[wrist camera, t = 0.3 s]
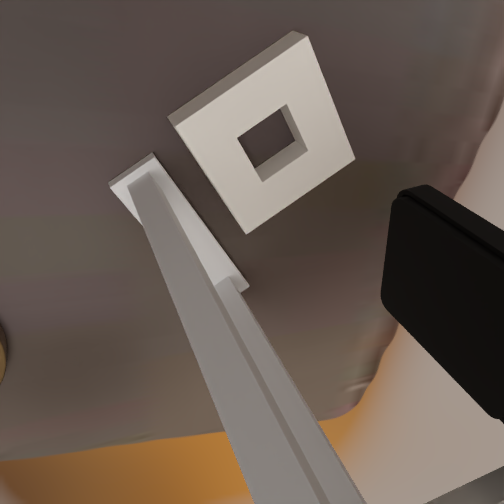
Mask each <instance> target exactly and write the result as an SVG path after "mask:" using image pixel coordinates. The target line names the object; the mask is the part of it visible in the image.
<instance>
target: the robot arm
mask: <svg viewBox="0 0 504 504" xmlns="http://www.w3.org/2000/svg"><path fill="white" fill-rule="evenodd" d="M381 300H382V303H383V305H384V307H385V308H386V309H387V310H388V312H389V313H390V314H391V315H392V316H393V317H394V318H395V319H396V320H397V321H398V322H399V323H400V324H401V325H402V326H403V327H404V328H405V329H406V330H407V331H408V332H409V333H410V334H411V335H412V336H413V337H414V338H415V339H416V340H417V341H418V343H419V344H420V345H421V346H422V347H423V348H425V350H426V351H427V352H428V353H429V354H430V355H431V356H432V357H433V358H434V359H435V360H436V361H437V362H438V363H439V364H440V365H441V366H442V367H443V368H444V369H445V370H446V371H447V372H448V373H449V375H450V376H451V377H452V378H454V380H455V381H456V382H457V383H458V384H459V385H460V386H461V387H462V388H463V389H464V390H465V391H466V392H467V393H468V394H469V395H470V396H471V397H472V398H473V399H474V400H475V401H476V402H477V403H478V404H479V405H480V407H482V409H483V410H484V411H485V412H486V413H487V414H488V415H490V416H491V417H493V418H495V419H500V420H501V421H502V422H503V424H504V231H503V230H501V229H500V228H498V227H496V226H495V225H493V224H491V223H490V222H488V221H487V220H485V219H483V218H482V217H480V216H479V215H477V214H475V213H474V212H472V211H470V210H469V209H467V208H466V207H464V206H462V205H461V204H459V203H457V202H456V201H454V200H453V199H451V198H449V197H448V196H446V195H444V194H443V193H441V192H440V191H438V190H436V189H435V188H433V187H431V186H429V185H420V186H417V187H413V188H409V189H405V190H402V191H401V192H399V194H398V195H397V199H395V200H394V201H393V203H392V206H391V214H390V222H389V230H388V238H387V246H386V254H385V262H384V270H383V278H382V286H381ZM425 504H504V466H503V467H501V468H499V469H497V470H495V471H493V472H490V473H488V474H486V475H484V476H482V477H480V478H478V479H475V480H473V481H471V482H469V483H467V484H465V485H463V486H461V487H459V488H456V489H454V490H452V491H450V492H448V493H446V494H444V495H442V496H440V497H438V498H436V499H433V500H431V501H429V502H427V503H425Z"/></svg>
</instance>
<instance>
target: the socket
mask: <svg viewBox="0 0 504 504" xmlns="http://www.w3.org/2000/svg"><path fill="white" fill-rule="evenodd" d="M278 109H280V110H281V112H282V114H283V116H284V118H285V120H286V122H287V124H288V127H289V129H290V131H291V133H292V135H293V137H294V139H295V141H294V142H293V143H291V144H290V145H288V146H287V147H285V148H284V149H282V150H281V151H280V152H278V153H277V154H275V155H274V156H272V157H271V158H269V159H268V160H267V161H265V162H264V163H262V164H261V165H259V166H258V167H256V168H255V169H254V167H253V165H252V164H251V162H250V160H249V159H248V157H247V155H246V153H245V152H244V150H243V148H242V146H241V145H240V143H239V141H238V139H237V137H239V136H240V135H242V134H243V133H245V132H246V131H248V130H249V129H251V128H252V127H253V126H255V125H256V124H258V123H259V122H261V121H262V120H264V119H265V118H267V117H268V116H269V115H271V114H272V113H274V112H275V111H277V110H278ZM167 118H168V119H169V121H170V122H171V124H172V125H173V127H174V128H175V130H176V131H177V133H178V134H179V136H180V137H181V139H182V140H183V142H184V143H185V145H186V146H187V148H188V149H189V151H190V152H191V154H192V155H193V157H194V158H195V160H196V161H197V163H198V164H199V166H200V167H201V169H202V170H203V172H204V173H205V175H206V176H207V178H208V179H209V181H210V182H211V184H212V185H213V187H214V188H215V190H216V191H217V193H218V194H219V196H220V197H221V199H222V200H223V202H224V203H225V205H226V206H227V208H228V209H229V211H230V212H231V214H232V215H233V217H234V218H235V220H236V221H237V223H238V224H239V225H240V227H241V228H242V229H243V231H244V232H245V234H248V233H249V232H251V231H252V230H254V229H255V228H256V227H258V226H259V225H261V224H262V223H264V222H265V221H267V220H268V219H269V218H271V217H272V216H274V215H275V214H277V213H278V212H280V211H281V210H282V209H284V208H285V207H287V206H288V205H290V204H291V203H293V202H294V201H295V200H297V199H298V198H300V197H301V196H303V195H304V194H306V193H307V192H308V191H310V190H311V189H313V188H314V187H316V186H317V185H319V184H320V183H322V182H323V181H324V180H326V179H327V178H329V177H330V176H332V175H333V174H335V173H336V172H337V171H339V170H340V169H342V168H343V167H345V166H346V165H348V164H349V163H350V162H352V161H353V160H355V157H354V154H353V152H352V149H351V146H350V144H349V141H348V139H347V136H346V134H345V131H344V128H343V126H342V123H341V121H340V118H339V116H338V113H337V110H336V108H335V105H334V103H333V100H332V97H331V95H330V92H329V90H328V87H327V85H326V82H325V79H324V77H323V74H322V72H321V69H320V67H319V64H318V61H317V59H316V56H315V54H314V51H313V49H312V46H311V43H310V41H309V38H308V36H307V35H304V34H301V33H298V32H295V31H291V32H290V33H288V34H287V35H285V36H284V37H282V38H281V39H279V40H278V41H277V42H275V43H274V44H272V45H271V46H269V47H268V48H266V49H265V50H263V51H262V52H260V53H259V54H258V55H256V56H255V57H253V58H252V59H250V60H249V61H247V62H246V63H244V64H243V65H242V66H240V67H239V68H237V69H236V70H234V71H233V72H231V73H230V74H228V75H227V76H225V77H224V78H223V79H221V80H220V81H218V82H217V83H215V84H214V85H212V86H211V87H209V88H208V89H207V90H205V91H204V92H202V93H201V94H199V95H198V96H196V97H195V98H193V99H192V100H190V101H189V102H188V103H186V104H185V105H183V106H182V107H180V108H179V109H177V110H176V111H174V112H173V113H172V114H170V115H169V116H167Z"/></svg>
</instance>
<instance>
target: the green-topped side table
mask: <svg viewBox="0 0 504 504" xmlns="http://www.w3.org/2000/svg"><path fill="white" fill-rule="evenodd" d="M108 183H109V186H110V188H111V190H112V191H113V192H114V193H115V194H116V195H117V197H118V198H119V199H120V200H121V201H122V202H123V204H124V205H125V206H126V207H127V208H128V209H129V211H130V212H131V213H132V214H133V215H134V216H135V218H136V219H137V220H138V221H139V222H140V223H141V225H142V226H143V227H144V230H145V232H146V235H147V237H148V240H149V242H150V245H151V247H152V250H153V252H154V255H155V257H156V260H157V262H158V265H159V267H160V270H161V272H162V275H163V277H164V280H165V282H166V285H167V287H168V290H169V292H170V295H171V297H172V300H173V302H174V305H175V307H176V310H177V312H178V314H179V317H180V319H181V322H182V324H183V327H184V329H185V332H186V334H187V337H188V339H189V342H190V344H191V347H192V349H193V352H194V354H195V357H196V359H197V362H198V364H199V367H200V369H201V372H202V374H203V377H204V379H205V382H206V384H207V387H208V389H209V392H210V394H211V397H212V399H213V401H214V404H215V406H216V409H217V411H218V414H219V416H220V419H221V421H222V424H223V426H224V429H225V431H226V433H227V436H228V439H229V441H230V444H231V446H232V449H233V451H234V454H235V456H236V459H237V461H238V464H239V466H240V469H241V471H242V473H243V476H244V478H245V481H246V483H247V486H248V488H249V491H250V493H251V496H252V498H253V501H254V503H255V504H366V502H365V500H364V498H363V497H362V495H361V494H360V492H359V490H358V488H357V487H356V485H355V483H354V482H353V480H352V478H351V477H350V475H349V473H348V472H347V470H346V468H345V467H344V465H343V463H342V462H341V460H340V458H339V457H338V455H337V453H336V452H335V450H334V448H333V447H332V445H331V444H330V442H329V440H328V438H327V437H326V435H325V433H324V432H323V430H322V428H321V427H320V425H319V423H318V422H317V420H316V418H315V417H314V415H313V413H312V412H311V410H310V408H309V407H308V405H307V403H306V402H305V400H304V398H303V397H302V395H301V393H300V392H299V390H298V388H297V387H296V385H295V383H294V382H293V380H292V378H291V377H290V375H289V373H288V372H287V370H286V368H285V367H284V365H283V363H282V362H281V360H280V358H279V357H278V355H277V353H276V352H275V350H274V348H273V347H272V345H271V343H270V342H269V340H268V338H267V337H266V335H265V333H264V332H263V330H262V328H261V327H260V325H259V323H258V322H257V320H256V318H255V317H254V315H253V313H252V312H251V310H250V308H249V307H248V305H247V303H246V302H245V300H244V298H243V297H242V295H241V292H242V291H244V290H245V289H247V288H248V287H250V286H249V284H248V283H247V281H246V280H245V278H244V277H243V276H242V274H241V273H240V272H239V270H238V269H237V267H236V266H235V265H234V263H233V262H232V261H231V259H230V258H229V257H228V255H227V254H226V252H225V251H224V250H223V248H222V247H221V246H220V244H219V243H218V242H217V240H216V239H215V237H214V236H213V235H212V233H211V232H210V231H209V229H208V228H207V227H206V225H205V224H204V222H203V221H202V220H201V218H200V217H199V216H198V214H197V213H196V211H195V210H194V209H193V207H192V206H191V205H190V203H189V202H188V201H187V199H186V198H185V196H184V195H183V194H182V192H181V191H180V190H179V188H178V187H177V186H176V184H175V183H174V181H173V180H172V179H171V177H170V176H169V175H168V173H167V172H166V171H165V169H164V168H163V166H162V165H161V164H160V162H159V161H158V160H157V158H156V157H155V156H154V154H153V153H150V154H149V155H147V156H146V157H145V158H143V159H142V160H140V161H139V162H137V163H136V164H134V165H133V166H131V167H130V168H128V169H127V170H126V171H124V172H123V173H121V174H120V175H118V176H117V177H115V178H114V179H112V180H111V181H110V182H108Z"/></svg>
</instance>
